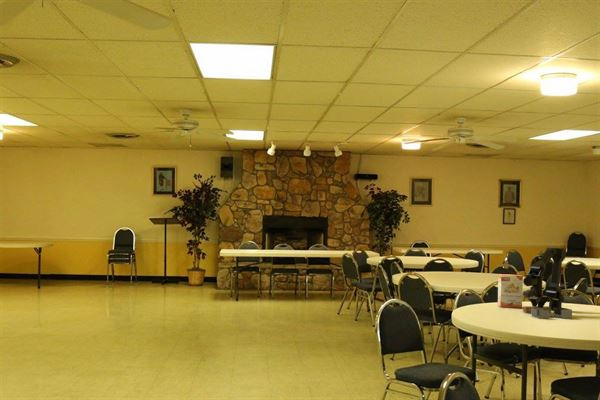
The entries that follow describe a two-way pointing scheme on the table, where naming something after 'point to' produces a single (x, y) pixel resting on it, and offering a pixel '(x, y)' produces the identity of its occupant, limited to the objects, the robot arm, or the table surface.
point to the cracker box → (510, 290)
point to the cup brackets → (558, 313)
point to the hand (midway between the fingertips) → (536, 311)
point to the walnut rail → (528, 308)
